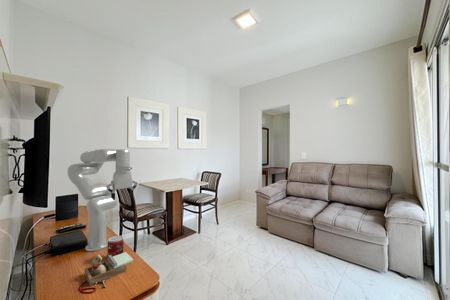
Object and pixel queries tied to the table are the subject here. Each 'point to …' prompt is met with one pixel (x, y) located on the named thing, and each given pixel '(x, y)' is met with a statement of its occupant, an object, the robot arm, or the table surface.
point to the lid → (119, 259)
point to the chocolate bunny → (98, 266)
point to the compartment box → (110, 273)
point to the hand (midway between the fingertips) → (122, 198)
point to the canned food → (115, 245)
